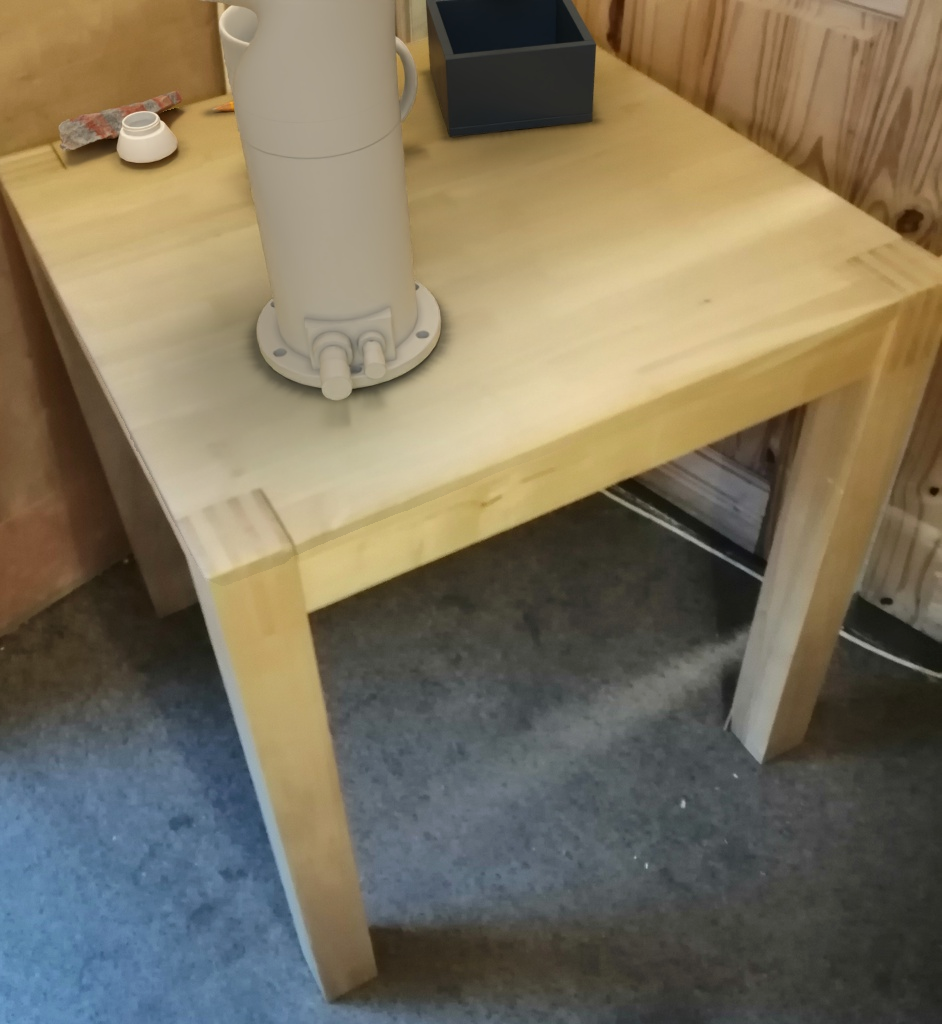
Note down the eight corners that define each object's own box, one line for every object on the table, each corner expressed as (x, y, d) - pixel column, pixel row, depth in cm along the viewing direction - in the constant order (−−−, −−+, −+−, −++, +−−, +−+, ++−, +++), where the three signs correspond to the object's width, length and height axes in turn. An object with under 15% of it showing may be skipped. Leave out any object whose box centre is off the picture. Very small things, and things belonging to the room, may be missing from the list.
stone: (165, 89, 98) (190, 84, 95) (174, 117, 99) (199, 113, 96) (39, 126, 92) (60, 121, 88) (50, 155, 93) (72, 152, 89)
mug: (397, 121, 95) (383, -35, 85) (446, 179, 88) (437, 16, 78) (233, 161, 91) (200, 2, 81) (271, 224, 84) (240, 59, 74)
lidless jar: (185, 158, 91) (170, 132, 94) (176, 125, 89) (162, 100, 92) (126, 172, 90) (114, 146, 93) (117, 139, 88) (104, 113, 91)
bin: (592, 121, 94) (596, 43, 89) (449, 137, 93) (445, 59, 88) (561, 59, 102) (563, -16, 97) (430, 73, 101) (425, -2, 96)
